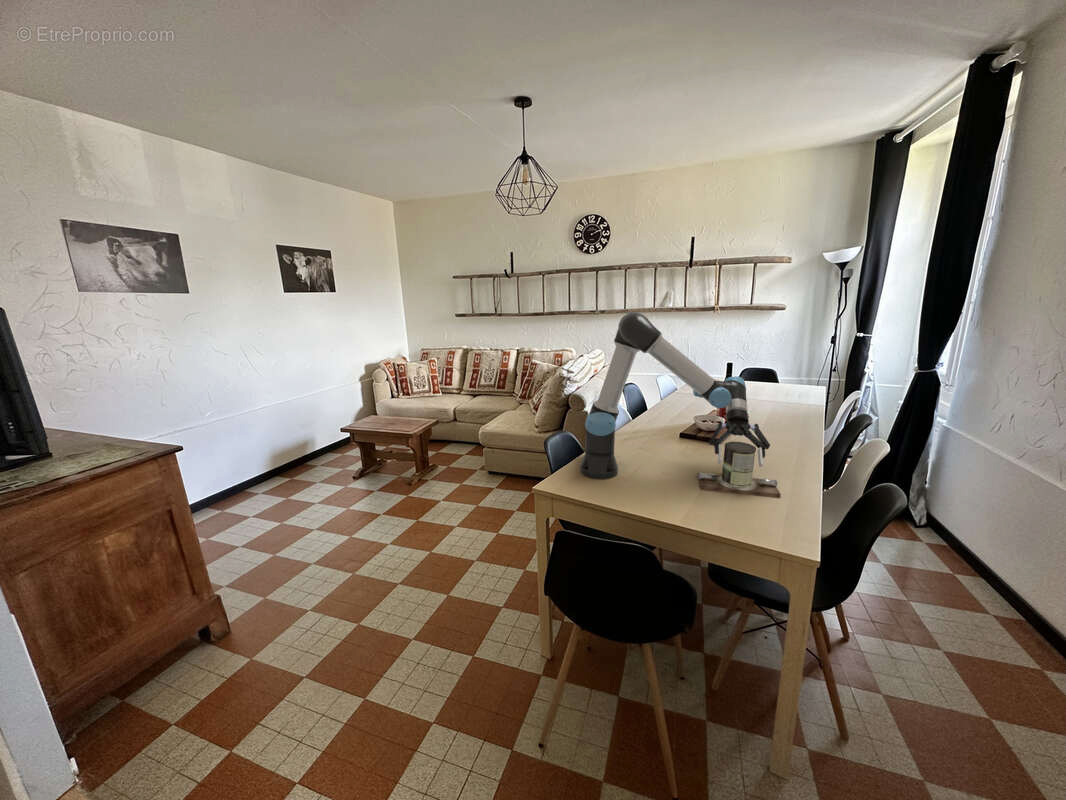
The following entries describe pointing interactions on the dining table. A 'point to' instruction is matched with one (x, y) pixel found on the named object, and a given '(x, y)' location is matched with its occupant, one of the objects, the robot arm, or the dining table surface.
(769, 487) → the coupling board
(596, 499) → the dining table surface
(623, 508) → the dining table surface
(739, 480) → the coffee can
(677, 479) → the dining table surface
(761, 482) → the shaft stubs
